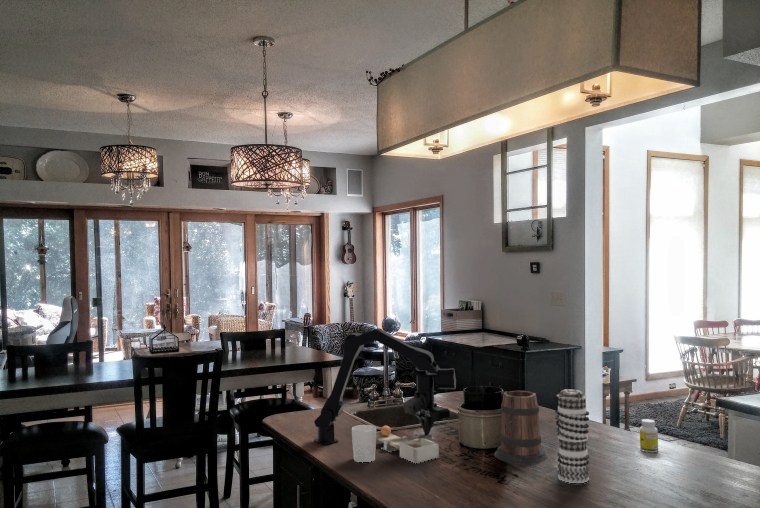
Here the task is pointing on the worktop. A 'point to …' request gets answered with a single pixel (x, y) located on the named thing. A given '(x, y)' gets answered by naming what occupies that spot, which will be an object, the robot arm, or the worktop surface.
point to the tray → (420, 451)
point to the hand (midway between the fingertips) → (426, 434)
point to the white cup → (364, 443)
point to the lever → (397, 440)
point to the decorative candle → (572, 436)
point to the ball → (385, 430)
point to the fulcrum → (389, 447)
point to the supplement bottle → (648, 436)
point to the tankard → (520, 429)
